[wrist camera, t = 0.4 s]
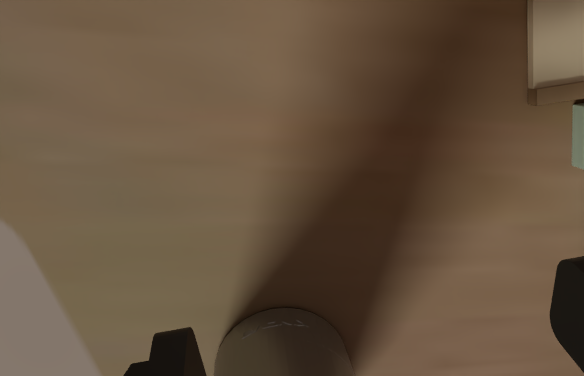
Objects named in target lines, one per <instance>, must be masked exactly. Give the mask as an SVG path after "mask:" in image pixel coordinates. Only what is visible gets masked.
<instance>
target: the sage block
mask: <svg viewBox="0 0 584 376" xmlns="http://www.w3.org/2000/svg"><path fill="white" fill-rule="evenodd" d="M572 166H575V167H578V168H581V169H584V103H581V104H575V105H573V122H572Z"/></svg>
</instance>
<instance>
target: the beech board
mask: <svg viewBox="0 0 584 376" xmlns="http://www.w3.org/2000/svg"><path fill="white" fill-rule="evenodd" d="M527 26H528V104H530V105H535V106H539V105H546V104H552V103H558V102H565V101H571V100H577V99H584V0H527Z"/></svg>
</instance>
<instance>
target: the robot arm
mask: <svg viewBox="0 0 584 376" xmlns="http://www.w3.org/2000/svg"><path fill="white" fill-rule="evenodd" d="M550 322H551V326H552V329H553V332H554V334H555V336H556V338H557V340H558V341H559V343H560V344H561V345H562V346H563V348H564V349H565V350H566V351H567V353H568V354H569V355H570V356H571V358H572V359H573V360H574V361H575V362H576V364H577V365H578V366H579V367H580V369H581V370H582V371H583V372H584V256H582V257H577V258H571V259H565V260H562V261H560V263H559V264H558V266H557V271H556V277H555V284H554V290H553V296H552V303H551V309H550ZM124 376H206V373H205V369H204V366H203V362H202V359H201V355H200V352H199V349H198V345H197V342H196V338H195V335H194V332H193V330H192V328H191V327H188V328H182V329H177V330H171V331H165V332H160V333H156V334H155V335H154V337H153V341H152V346H151V352H150V358H149V361H144V362H139V363H133V364H131V365H130V367H129V368H128V370H127V371H126V373H125V374H124ZM214 376H355V373H354V370H353V368H352V365H351V362H350V359H349V357H348V354H347V351H346V349H345V346H344V343H343V341H342V338H341V337H340V335H339V334H338V333H337V331H336V330H335V328H334V327H332V326H331V325H330V324H329V323H328V322H327V321H326V320H324V319H323V318H321V317H319V316H317V315H316V314H314V313H311V312H308V311H305V310H302V309H294V308H276V309H270V310H266V311H262V312H259V313H256V314H254V315H252V316H250V317H248V318H246V319H244V320H243V321H242V322H241V323H239V324H238V325H237V326H235V327H234V328H233V329H232V330H231V331H230V333H229V334H228V335H227V336H226V337H225V339H224V340H223V342H222V344H221V346H220V348H219V350H218V353H217V357H216V361H215V369H214Z"/></svg>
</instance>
